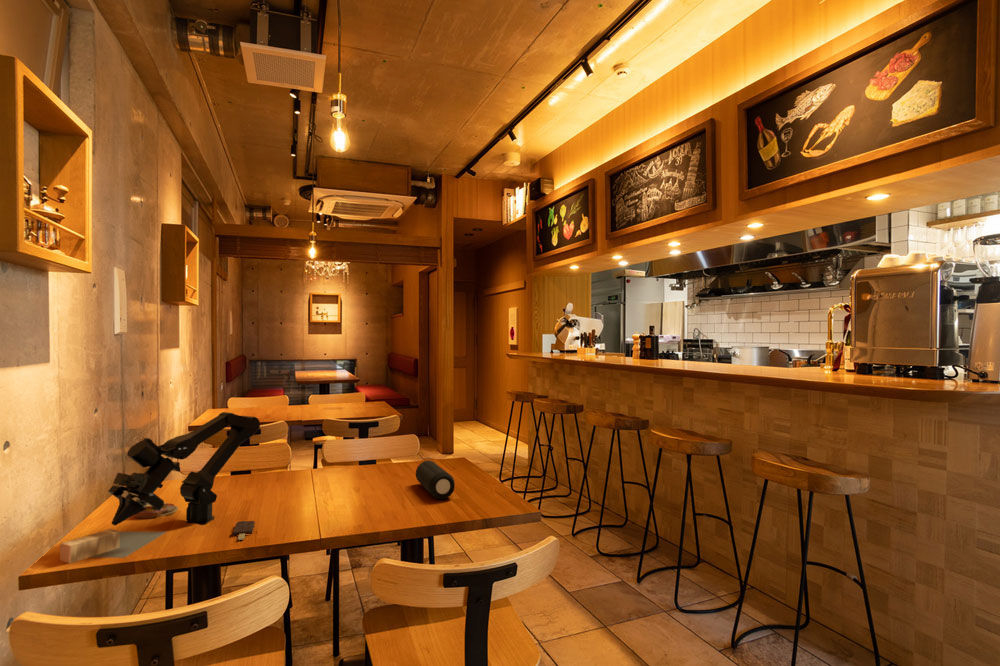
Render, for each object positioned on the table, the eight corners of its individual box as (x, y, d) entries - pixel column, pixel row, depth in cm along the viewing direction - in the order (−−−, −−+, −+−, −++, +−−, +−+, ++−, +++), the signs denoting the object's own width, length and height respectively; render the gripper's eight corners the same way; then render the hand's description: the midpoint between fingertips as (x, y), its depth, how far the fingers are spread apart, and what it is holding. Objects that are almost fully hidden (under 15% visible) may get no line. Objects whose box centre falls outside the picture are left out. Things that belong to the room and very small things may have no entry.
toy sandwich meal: (186, 509, 186) (187, 496, 186) (155, 522, 172) (155, 508, 172) (155, 507, 188) (155, 493, 188) (121, 520, 175) (122, 505, 175)
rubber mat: (167, 533, 162) (167, 531, 162) (124, 559, 143) (124, 557, 143) (116, 533, 162) (116, 531, 162) (67, 559, 143) (67, 557, 143)
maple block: (110, 528, 152) (60, 543, 141) (119, 531, 150) (69, 546, 139) (110, 544, 152) (59, 560, 141) (119, 547, 150) (69, 563, 139)
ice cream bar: (250, 541, 158) (254, 524, 172) (250, 536, 158) (254, 519, 172) (230, 543, 156) (236, 526, 170) (230, 538, 156) (236, 521, 170)
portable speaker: (456, 499, 200) (456, 472, 200) (430, 502, 196) (431, 475, 196) (437, 482, 224) (437, 458, 224) (413, 484, 220) (414, 460, 220)
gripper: (115, 457, 160) (72, 504, 150) (153, 464, 151) (110, 515, 141) (143, 477, 166) (102, 524, 157) (180, 485, 158) (141, 535, 148)
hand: (113, 524), depth 150 cm, fingers closed
